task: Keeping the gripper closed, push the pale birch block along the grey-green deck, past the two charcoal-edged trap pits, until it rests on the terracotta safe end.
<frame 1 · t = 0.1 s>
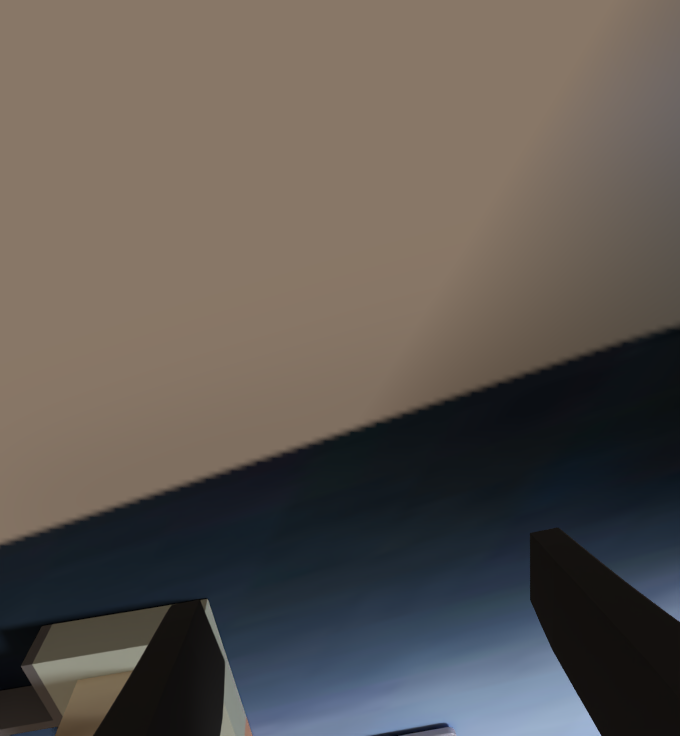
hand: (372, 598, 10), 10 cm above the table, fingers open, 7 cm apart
birch block: (134, 699, 23), point 2 cm above the table, touching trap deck
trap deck: (111, 716, 26), on the table
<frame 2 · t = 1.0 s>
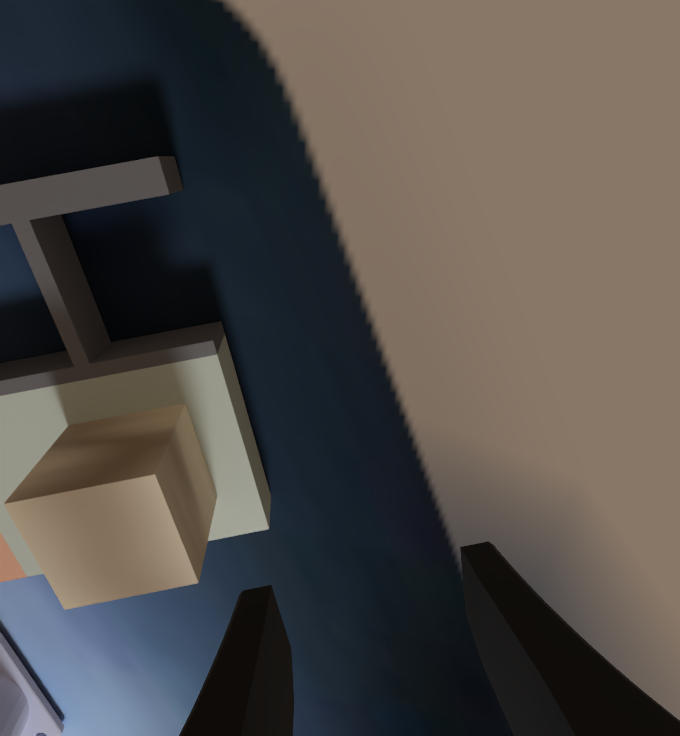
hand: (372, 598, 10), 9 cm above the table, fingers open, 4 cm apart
birch block: (146, 462, 17), point 2 cm above the table, touching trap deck
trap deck: (26, 385, 18), on the table
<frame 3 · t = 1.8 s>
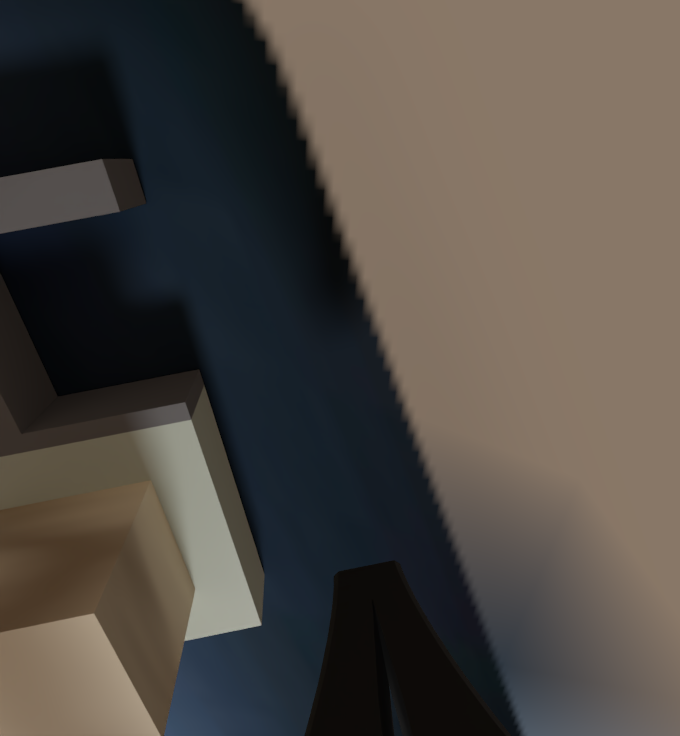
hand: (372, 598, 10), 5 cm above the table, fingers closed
birch block: (102, 552, 13), point 2 cm above the table, touching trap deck
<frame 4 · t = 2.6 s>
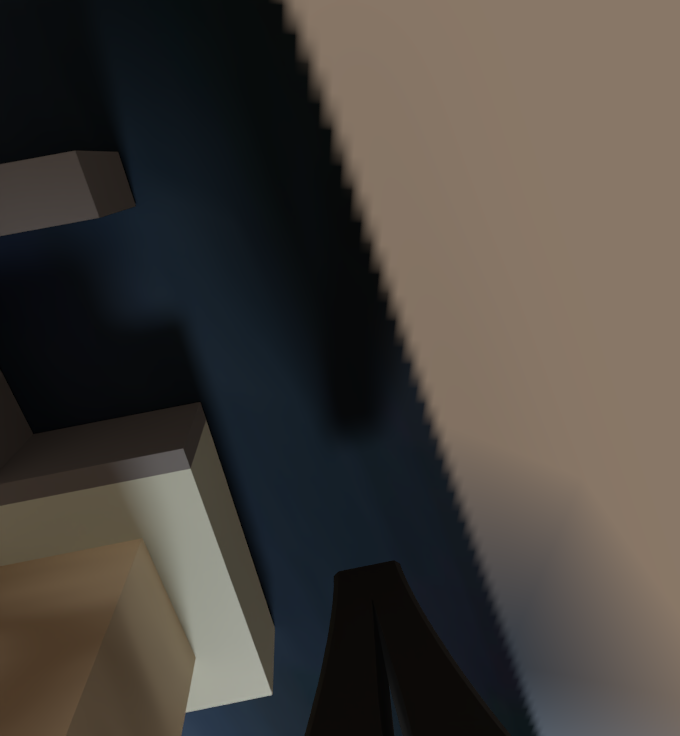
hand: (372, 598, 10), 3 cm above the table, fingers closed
birch block: (86, 619, 11), point 2 cm above the table, touching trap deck
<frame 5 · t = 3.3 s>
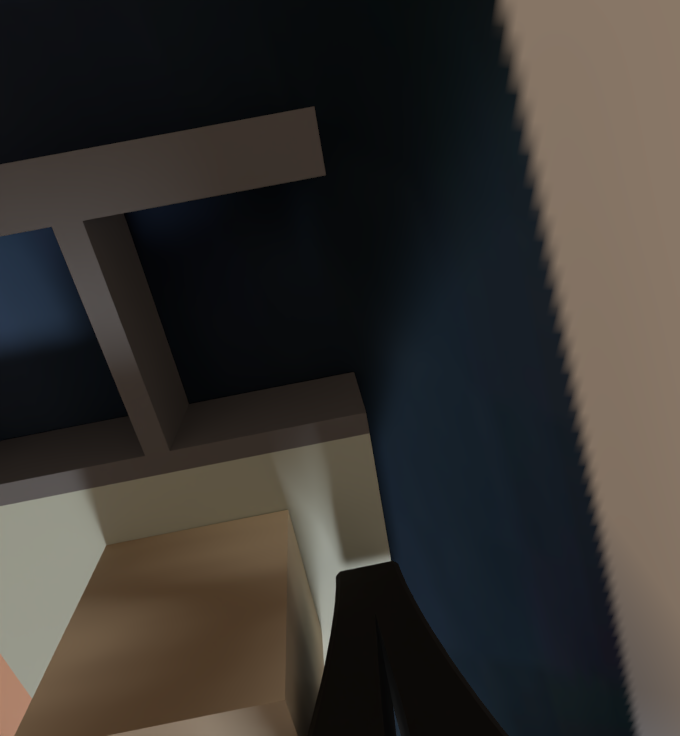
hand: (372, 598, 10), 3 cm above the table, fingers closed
birch block: (222, 592, 11), point 2 cm above the table, touching gripper
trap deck: (60, 466, 12), on the table
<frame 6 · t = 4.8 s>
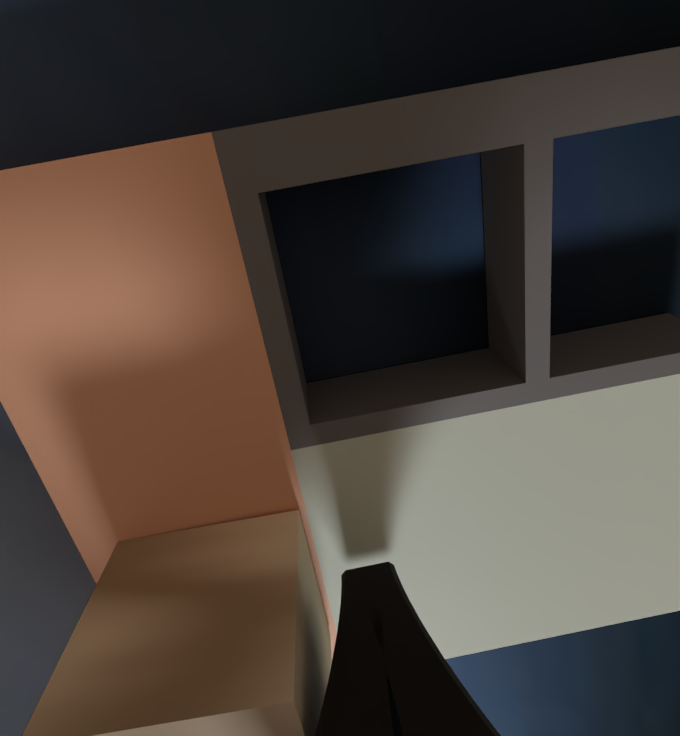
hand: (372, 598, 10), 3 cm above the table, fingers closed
birch block: (231, 590, 11), point 2 cm above the table, touching gripper, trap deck
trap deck: (373, 407, 12), on the table
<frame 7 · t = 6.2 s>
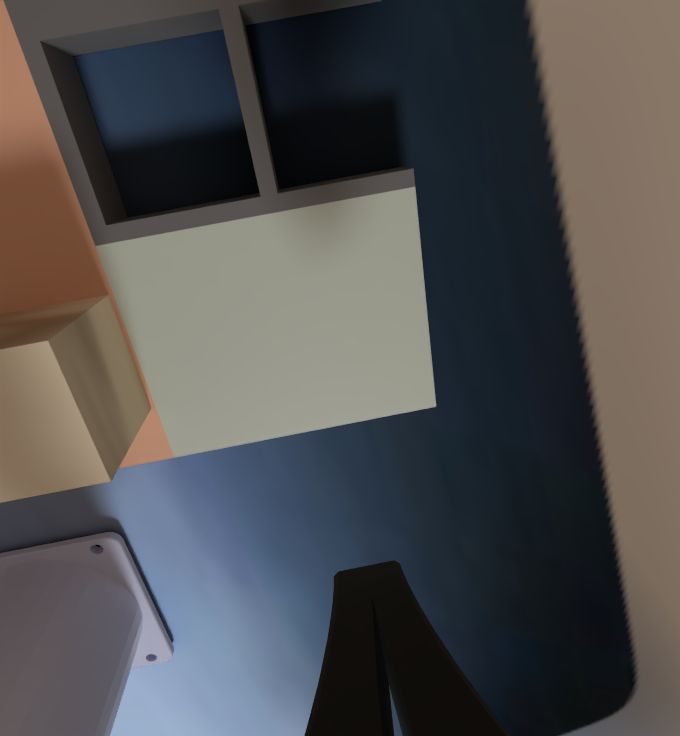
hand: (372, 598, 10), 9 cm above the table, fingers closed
birch block: (69, 366, 15), point 2 cm above the table, touching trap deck
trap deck: (182, 239, 16), on the table
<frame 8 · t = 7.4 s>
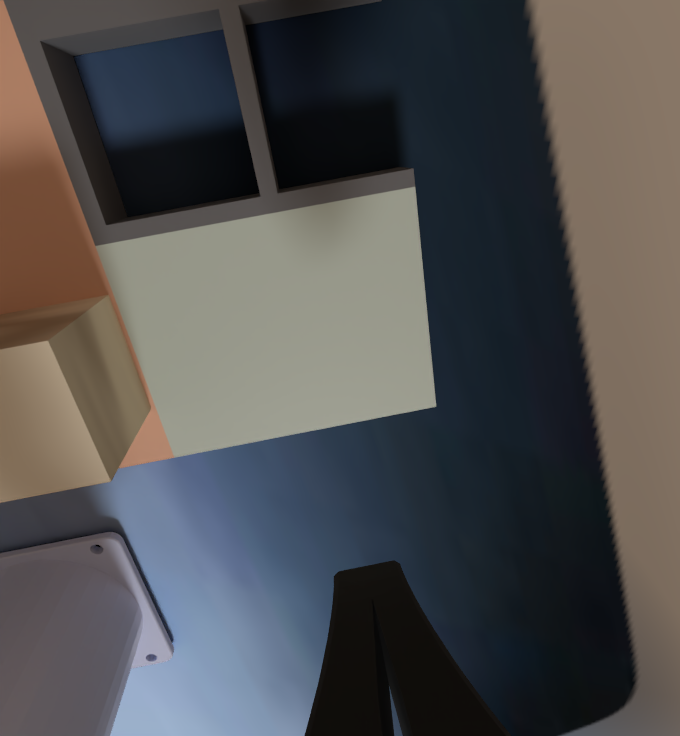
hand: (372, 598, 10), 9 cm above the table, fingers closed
birch block: (69, 366, 15), point 2 cm above the table, touching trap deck
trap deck: (182, 239, 16), on the table
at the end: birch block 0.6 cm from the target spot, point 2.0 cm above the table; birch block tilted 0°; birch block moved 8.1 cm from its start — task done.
